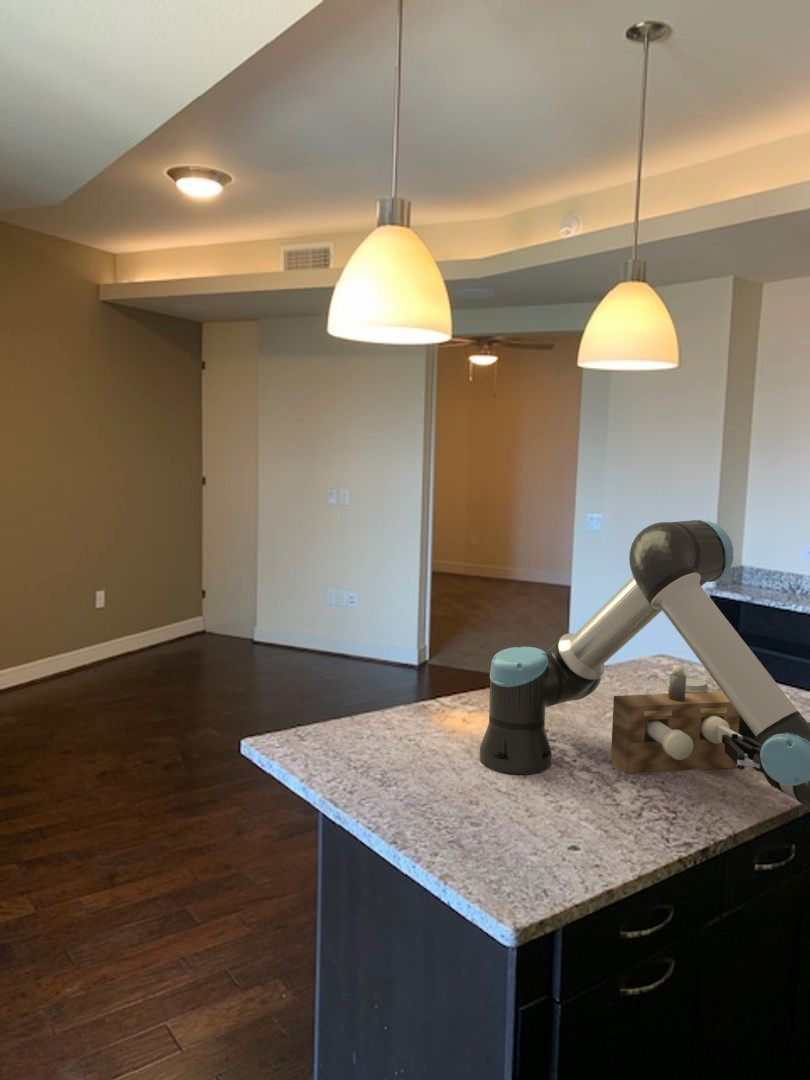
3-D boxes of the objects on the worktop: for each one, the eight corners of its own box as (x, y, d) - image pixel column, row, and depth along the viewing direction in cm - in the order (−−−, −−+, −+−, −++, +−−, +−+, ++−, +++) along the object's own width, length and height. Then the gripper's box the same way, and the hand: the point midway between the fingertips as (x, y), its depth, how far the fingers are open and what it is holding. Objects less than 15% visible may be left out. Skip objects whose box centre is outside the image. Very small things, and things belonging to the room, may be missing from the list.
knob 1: (667, 760, 150) (669, 734, 149) (630, 732, 165) (631, 708, 164) (692, 759, 151) (694, 733, 150) (652, 731, 166) (654, 707, 165)
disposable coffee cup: (698, 739, 180) (702, 689, 179) (658, 730, 186) (661, 681, 184) (710, 728, 187) (714, 680, 186) (671, 720, 193) (674, 672, 192)
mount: (626, 774, 159) (630, 706, 157) (610, 760, 166) (613, 695, 164) (736, 768, 163) (741, 702, 162) (716, 754, 171) (720, 691, 169)
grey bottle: (673, 701, 161) (675, 668, 161) (665, 696, 164) (667, 664, 164) (687, 700, 162) (690, 667, 161) (679, 696, 165) (681, 663, 164)
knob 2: (706, 744, 159) (707, 719, 158) (667, 719, 174) (668, 696, 174) (729, 743, 160) (730, 718, 159) (688, 718, 175) (689, 695, 174)
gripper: (761, 798, 135) (690, 751, 158) (828, 794, 137) (748, 748, 160) (762, 756, 135) (691, 715, 158) (830, 752, 137) (750, 713, 160)
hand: (720, 732), depth 159 cm, fingers closed
